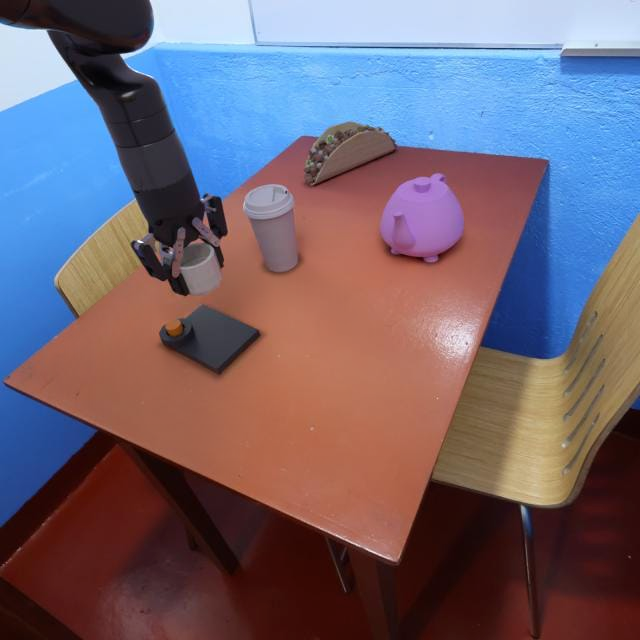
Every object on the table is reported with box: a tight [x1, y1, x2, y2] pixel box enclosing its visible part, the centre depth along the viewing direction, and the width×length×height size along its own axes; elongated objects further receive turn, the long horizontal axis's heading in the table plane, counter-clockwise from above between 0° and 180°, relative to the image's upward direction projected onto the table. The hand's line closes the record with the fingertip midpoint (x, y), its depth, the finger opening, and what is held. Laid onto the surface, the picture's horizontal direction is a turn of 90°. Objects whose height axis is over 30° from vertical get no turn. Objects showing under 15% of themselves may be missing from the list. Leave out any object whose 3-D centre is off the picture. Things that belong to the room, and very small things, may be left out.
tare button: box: [165, 318, 184, 336], centre depth 79 cm, size 3×3×2 cm
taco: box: [303, 121, 398, 186], centre depth 118 cm, size 10×27×10 cm, turn 123°
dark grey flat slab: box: [158, 303, 261, 376], centre depth 79 cm, size 11×14×3 cm
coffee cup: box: [242, 183, 299, 273], centre depth 89 cm, size 10×10×15 cm
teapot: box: [379, 172, 465, 263], centre depth 87 cm, size 22×16×14 cm
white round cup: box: [180, 242, 223, 297], centre depth 67 cm, size 6×6×5 cm
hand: (201, 279), depth 68 cm, fingers closed on white round cup, 6 cm apart
